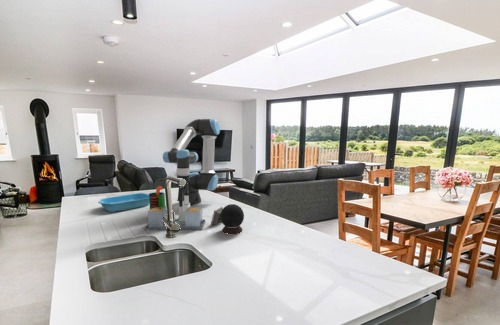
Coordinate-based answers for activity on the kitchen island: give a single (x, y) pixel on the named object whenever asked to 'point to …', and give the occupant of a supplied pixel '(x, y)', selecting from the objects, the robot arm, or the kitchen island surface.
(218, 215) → the electrical switch
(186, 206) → the block
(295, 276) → the kitchen island surface
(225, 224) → the black ball on stand
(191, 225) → the rail
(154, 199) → the motor
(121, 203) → the casserole dish
